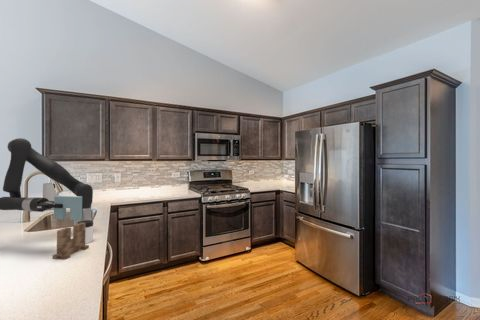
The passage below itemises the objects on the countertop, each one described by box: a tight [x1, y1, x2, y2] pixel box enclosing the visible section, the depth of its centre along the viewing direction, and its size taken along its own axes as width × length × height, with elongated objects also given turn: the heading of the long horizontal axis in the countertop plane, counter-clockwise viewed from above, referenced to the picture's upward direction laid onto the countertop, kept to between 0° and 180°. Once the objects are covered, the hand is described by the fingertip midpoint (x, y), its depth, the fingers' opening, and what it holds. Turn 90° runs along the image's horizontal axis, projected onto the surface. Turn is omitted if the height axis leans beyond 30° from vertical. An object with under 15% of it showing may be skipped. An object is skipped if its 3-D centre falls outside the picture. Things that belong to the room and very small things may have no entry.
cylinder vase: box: [42, 182, 60, 211], centre depth 235 cm, size 12×12×25 cm
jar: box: [77, 219, 94, 245], centre depth 145 cm, size 9×8×12 cm
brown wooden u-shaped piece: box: [51, 223, 90, 260], centre depth 127 cm, size 16×7×14 cm, turn 174°
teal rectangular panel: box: [53, 195, 82, 221], centre depth 128 cm, size 14×2×12 cm, turn 83°
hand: (64, 205), depth 128 cm, fingers closed on teal rectangular panel, 2 cm apart
